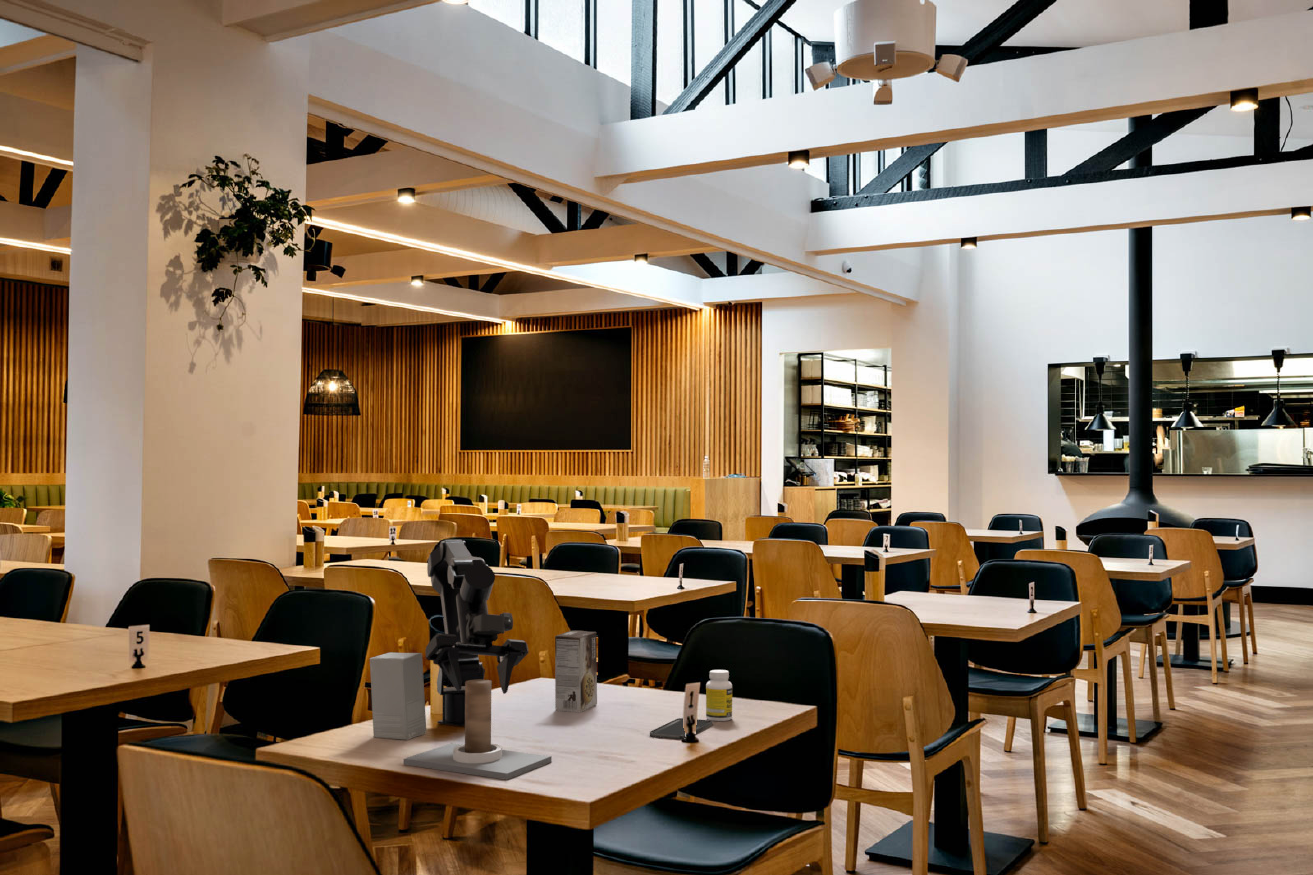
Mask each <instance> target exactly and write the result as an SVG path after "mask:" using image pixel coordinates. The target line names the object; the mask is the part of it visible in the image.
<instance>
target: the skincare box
mask: <svg viewBox="0 0 1313 875" xmlns="http://www.w3.org/2000/svg"><path fill="white" fill-rule="evenodd" d="M369 667H370V669H369V670H370V686H371V687H370V688H371V711H372V728H373V729H372V730H373V732H372V734H373V738H377V739H378V738H379V739H392V740H394V739H395V740H405V741H406V740H410V739H413V738H415V737H417V736H418V737H419V736H421V735H425V734H426V733H427V720H426V719H427V718H426V715H427V714H426V702H425V701H426V700H425V687H424V686H425V684H424V667H423V653H422V652H386V653H383V654H380V655H376V656H373V657H370V658H369Z"/></svg>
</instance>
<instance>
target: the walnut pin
mask: <svg viewBox="0 0 1313 875" xmlns="http://www.w3.org/2000/svg"><path fill="white" fill-rule="evenodd" d="M491 744H492V680H491V679H490V680H489V679H484V680H483V679H478V680H469V681H466V682H465V726H464V745H465V753H485V752H491Z"/></svg>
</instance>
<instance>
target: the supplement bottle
mask: <svg viewBox="0 0 1313 875" xmlns="http://www.w3.org/2000/svg"><path fill="white" fill-rule="evenodd" d="M729 674H730V672H729V670H726V669H712V670H710V671H709V679H710V680H708V681H707V682H706V684H705V690H706V692H705V693H706V694H705V717H706V720H710V721H713V722H726V721H727V722H728V721H730V720H732V719H733V684H732V682H731V681H729V679H730V678H729V677H730V675H729Z"/></svg>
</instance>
